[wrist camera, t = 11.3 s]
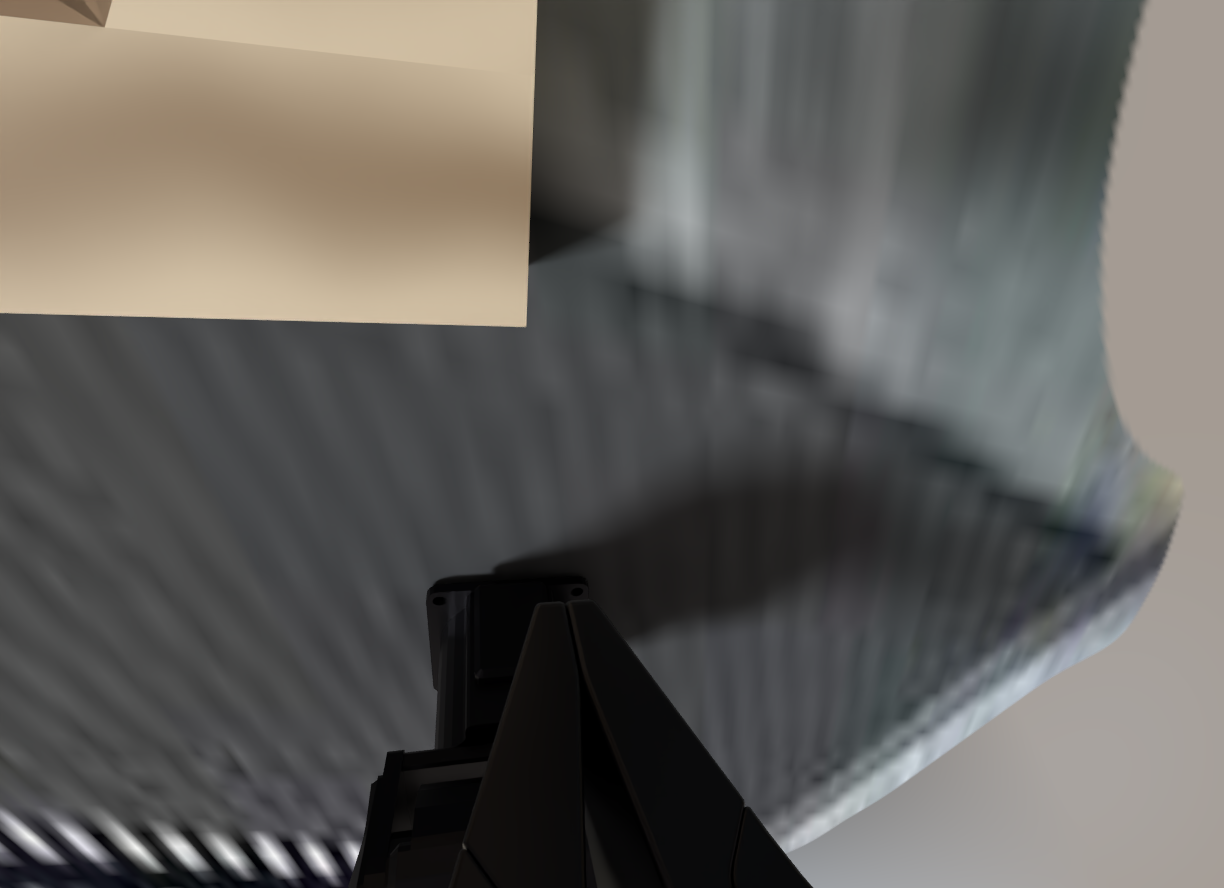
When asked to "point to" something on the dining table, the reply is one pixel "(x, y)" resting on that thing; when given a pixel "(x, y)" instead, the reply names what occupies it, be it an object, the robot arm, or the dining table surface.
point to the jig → (267, 159)
